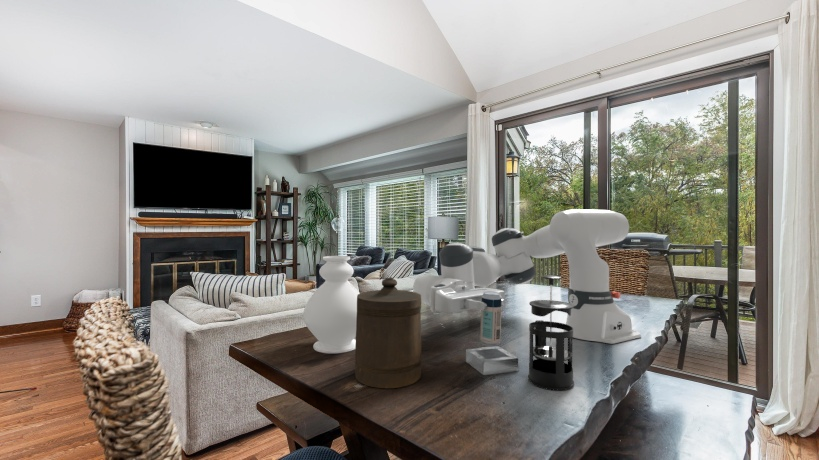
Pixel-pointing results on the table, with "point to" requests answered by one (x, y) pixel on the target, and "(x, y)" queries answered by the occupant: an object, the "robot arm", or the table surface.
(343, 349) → the decorative vase
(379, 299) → the wooden container
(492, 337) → the supplement bottle
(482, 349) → the light grey square box
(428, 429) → the table surface
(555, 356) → the french press
